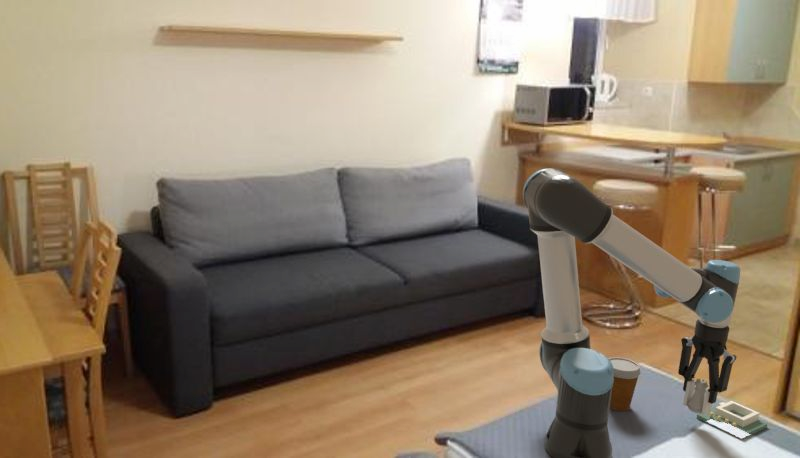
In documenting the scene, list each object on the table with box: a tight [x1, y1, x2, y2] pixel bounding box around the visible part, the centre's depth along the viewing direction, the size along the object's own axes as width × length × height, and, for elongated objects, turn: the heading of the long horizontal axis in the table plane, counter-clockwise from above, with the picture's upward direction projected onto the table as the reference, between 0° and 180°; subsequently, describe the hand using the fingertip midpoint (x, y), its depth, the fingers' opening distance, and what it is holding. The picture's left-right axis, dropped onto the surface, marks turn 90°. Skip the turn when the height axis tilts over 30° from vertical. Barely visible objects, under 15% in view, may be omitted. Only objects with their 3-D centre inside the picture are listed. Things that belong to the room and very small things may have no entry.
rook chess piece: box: [687, 378, 709, 414], centre depth 164 cm, size 4×4×8 cm
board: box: [696, 400, 768, 435], centre depth 167 cm, size 12×12×3 cm
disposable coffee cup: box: [608, 356, 642, 412], centre depth 173 cm, size 10×10×12 cm
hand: (696, 408), depth 165 cm, fingers closed on rook chess piece, 4 cm apart
